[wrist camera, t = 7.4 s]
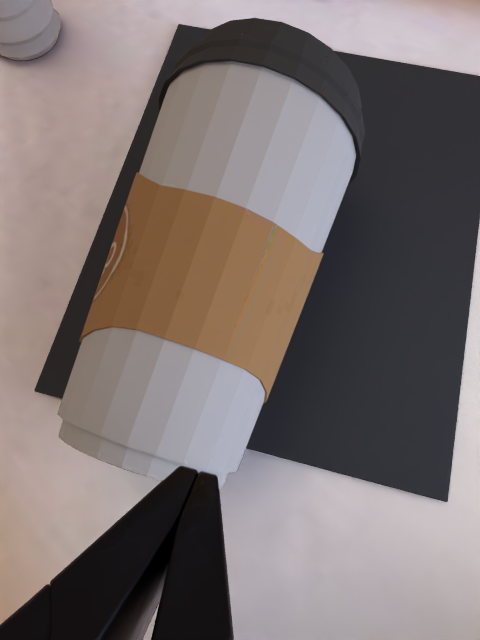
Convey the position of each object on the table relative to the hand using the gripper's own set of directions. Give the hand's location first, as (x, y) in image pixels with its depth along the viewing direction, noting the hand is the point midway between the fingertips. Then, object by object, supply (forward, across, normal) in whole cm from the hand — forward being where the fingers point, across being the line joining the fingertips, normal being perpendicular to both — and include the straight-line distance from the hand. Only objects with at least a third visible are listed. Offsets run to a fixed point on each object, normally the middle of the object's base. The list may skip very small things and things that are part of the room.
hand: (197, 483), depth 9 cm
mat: (+15, 0, -2) cm, 15 cm away
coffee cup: (+4, +3, +4) cm, 6 cm away
